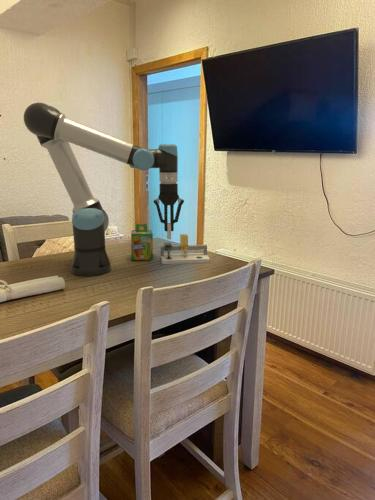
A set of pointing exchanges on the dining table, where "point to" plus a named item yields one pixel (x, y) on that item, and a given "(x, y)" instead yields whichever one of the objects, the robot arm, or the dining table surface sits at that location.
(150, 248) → the chalk box
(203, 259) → the hole plate
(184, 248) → the block
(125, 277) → the dining table surface
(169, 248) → the fixed leg
